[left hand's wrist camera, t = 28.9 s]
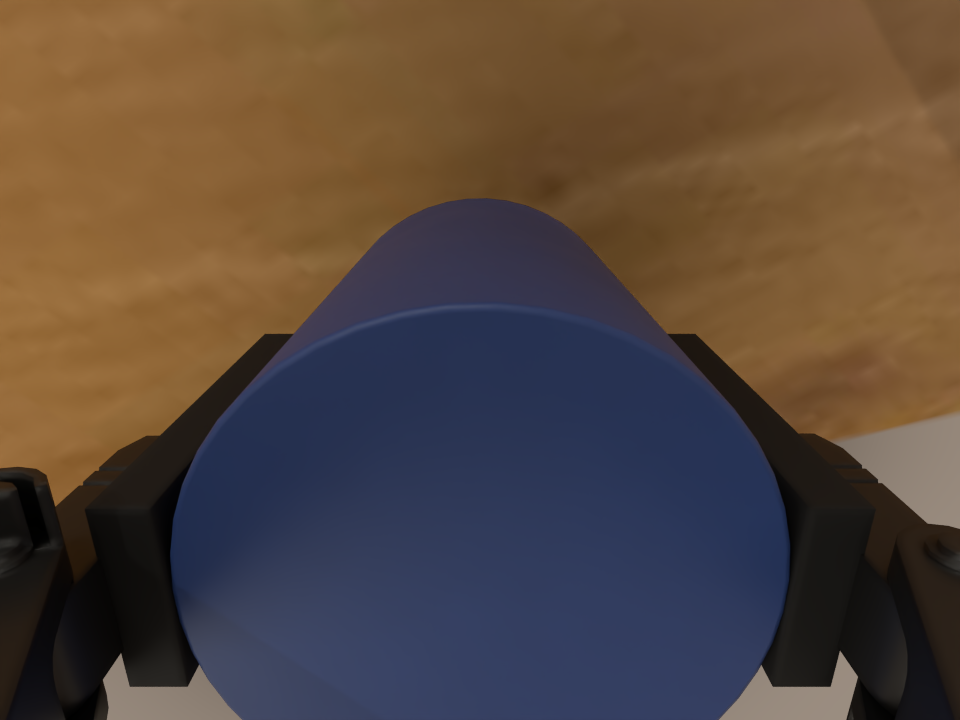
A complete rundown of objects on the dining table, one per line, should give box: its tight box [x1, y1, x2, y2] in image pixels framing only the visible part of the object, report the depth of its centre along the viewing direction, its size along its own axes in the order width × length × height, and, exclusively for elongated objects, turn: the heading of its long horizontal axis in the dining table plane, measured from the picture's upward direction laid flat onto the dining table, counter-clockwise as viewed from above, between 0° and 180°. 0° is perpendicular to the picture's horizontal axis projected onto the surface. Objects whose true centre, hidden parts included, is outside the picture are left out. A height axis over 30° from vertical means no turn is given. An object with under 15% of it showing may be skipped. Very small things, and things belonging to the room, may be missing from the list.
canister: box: [170, 198, 790, 720], centre depth 12 cm, size 8×8×10 cm
